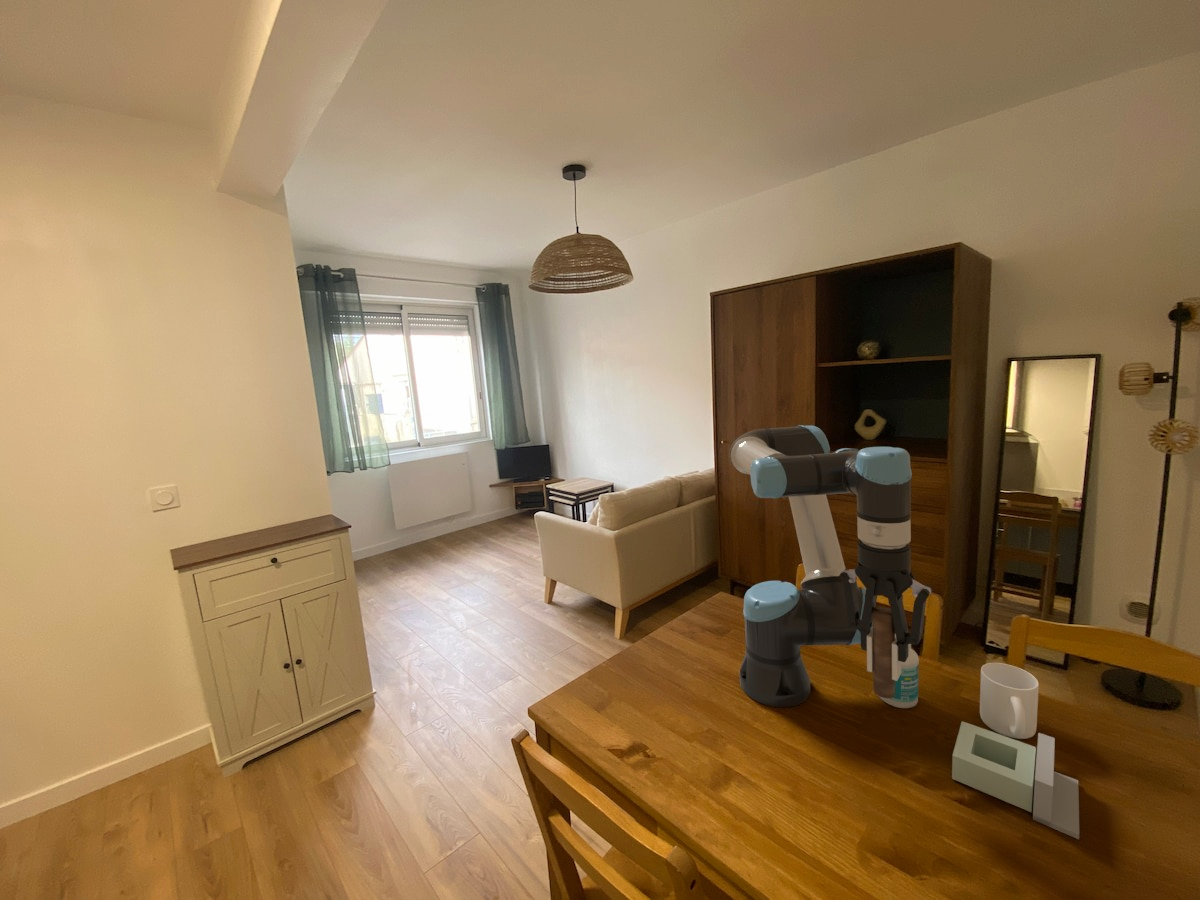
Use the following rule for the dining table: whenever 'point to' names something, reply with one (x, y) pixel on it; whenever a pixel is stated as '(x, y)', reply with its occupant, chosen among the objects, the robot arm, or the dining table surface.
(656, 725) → the dining table surface
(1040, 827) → the dining table surface
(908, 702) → the pill bottle
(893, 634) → the dowel
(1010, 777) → the block
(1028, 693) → the mug
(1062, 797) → the grey l-shaped piece
